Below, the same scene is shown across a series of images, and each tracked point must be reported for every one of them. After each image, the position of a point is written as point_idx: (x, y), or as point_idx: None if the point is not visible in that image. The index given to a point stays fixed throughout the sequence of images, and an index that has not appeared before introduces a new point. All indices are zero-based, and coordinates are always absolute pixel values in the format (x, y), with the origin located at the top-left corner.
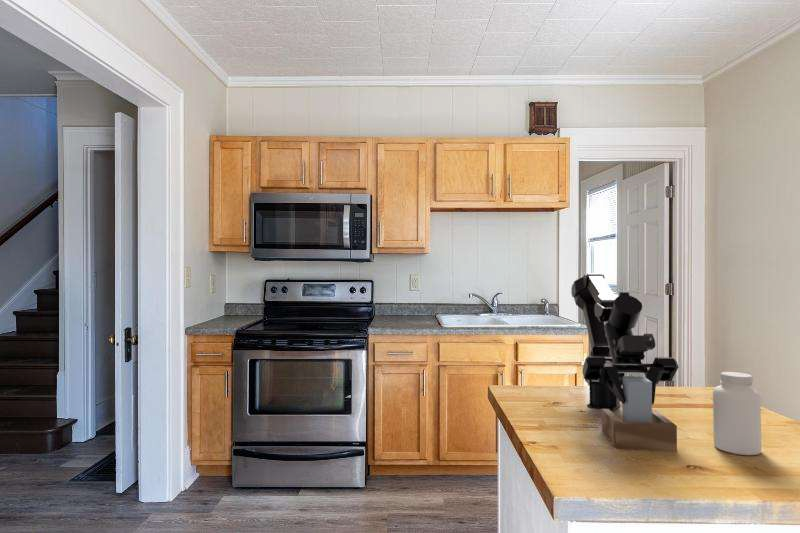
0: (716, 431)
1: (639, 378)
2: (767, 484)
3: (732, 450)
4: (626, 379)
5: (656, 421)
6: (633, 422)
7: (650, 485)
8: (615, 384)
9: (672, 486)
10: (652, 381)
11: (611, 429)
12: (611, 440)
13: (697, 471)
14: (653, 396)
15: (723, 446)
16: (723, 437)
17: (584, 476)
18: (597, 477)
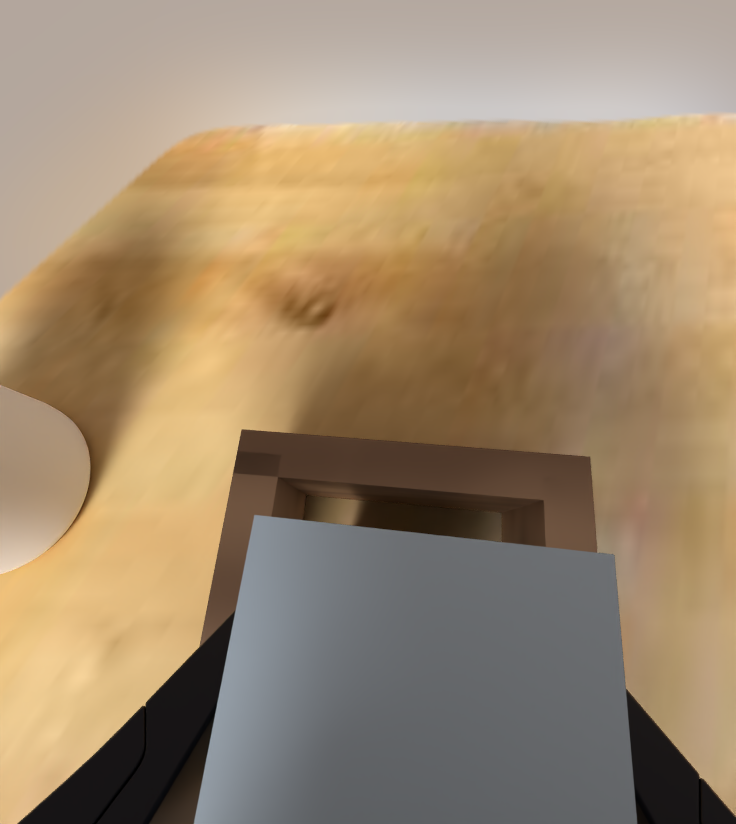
0: (32, 472)
1: (339, 816)
2: (172, 205)
3: (70, 419)
4: (624, 727)
5: None
6: (471, 485)
7: (514, 183)
8: (728, 809)
9: (452, 181)
10: (110, 805)
11: None
12: None
13: (318, 276)
14: None
15: (77, 446)
16: (47, 433)
17: (710, 226)
18: (667, 222)
